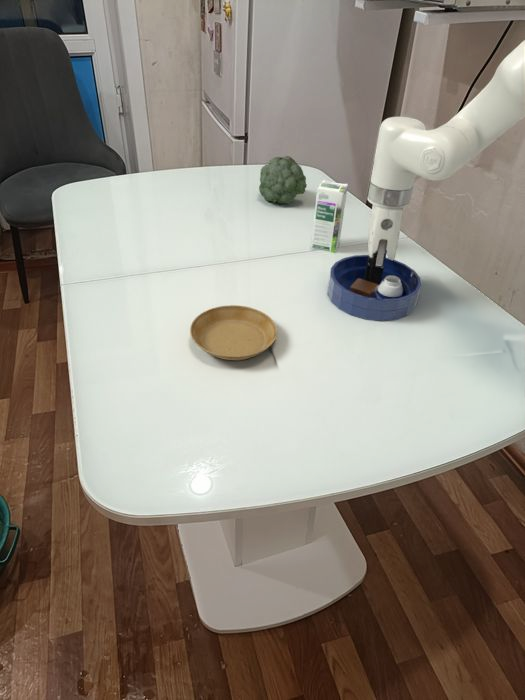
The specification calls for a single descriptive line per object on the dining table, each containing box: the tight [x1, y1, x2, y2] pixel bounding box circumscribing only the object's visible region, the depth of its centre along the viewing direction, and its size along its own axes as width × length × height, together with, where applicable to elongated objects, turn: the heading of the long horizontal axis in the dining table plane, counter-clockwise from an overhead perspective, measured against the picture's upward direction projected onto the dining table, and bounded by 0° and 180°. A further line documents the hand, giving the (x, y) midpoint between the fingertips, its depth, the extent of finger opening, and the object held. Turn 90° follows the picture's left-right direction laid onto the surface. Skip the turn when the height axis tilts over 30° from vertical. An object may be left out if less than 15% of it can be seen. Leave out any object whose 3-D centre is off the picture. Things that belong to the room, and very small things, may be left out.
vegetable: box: [258, 155, 308, 205], centre depth 136 cm, size 12×13×15 cm
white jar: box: [377, 276, 403, 297], centre depth 101 cm, size 5×3×5 cm
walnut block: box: [349, 278, 378, 298], centre depth 97 cm, size 4×4×4 cm
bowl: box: [327, 254, 422, 322], centre depth 99 cm, size 17×17×5 cm
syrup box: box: [310, 180, 349, 254], centre depth 113 cm, size 6×6×14 cm
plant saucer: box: [189, 304, 278, 361], centre depth 87 cm, size 15×15×3 cm
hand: (372, 281), depth 103 cm, fingers closed
